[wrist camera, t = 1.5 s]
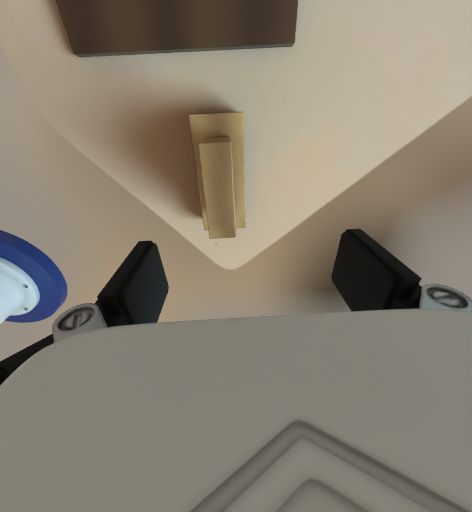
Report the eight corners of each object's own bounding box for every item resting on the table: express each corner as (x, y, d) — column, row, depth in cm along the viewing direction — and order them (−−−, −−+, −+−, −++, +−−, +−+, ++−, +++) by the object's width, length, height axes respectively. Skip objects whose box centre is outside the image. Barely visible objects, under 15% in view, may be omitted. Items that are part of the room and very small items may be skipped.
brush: (206, 220, 29) (198, 257, 21) (193, 115, 23) (174, 111, 15) (244, 218, 29) (250, 254, 21) (241, 113, 23) (249, 107, 15)
